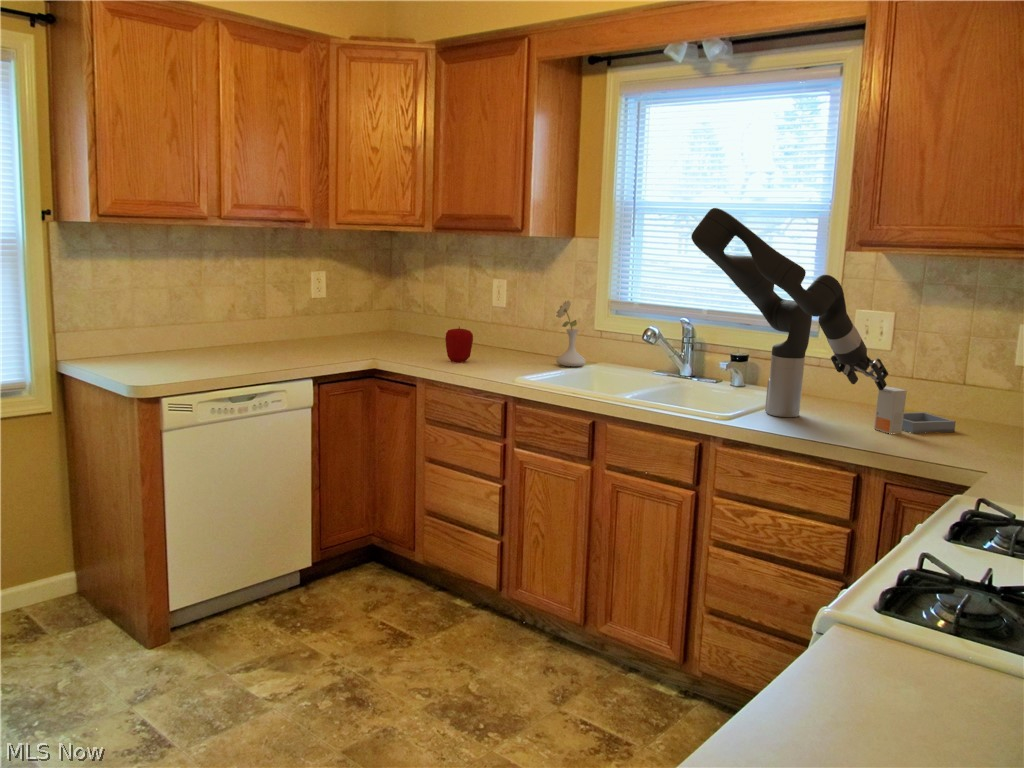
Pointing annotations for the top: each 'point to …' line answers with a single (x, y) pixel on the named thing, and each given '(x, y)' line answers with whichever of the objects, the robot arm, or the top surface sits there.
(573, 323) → the flower in vase
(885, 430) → the skincare box
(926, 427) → the tray
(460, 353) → the apple
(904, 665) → the top surface
